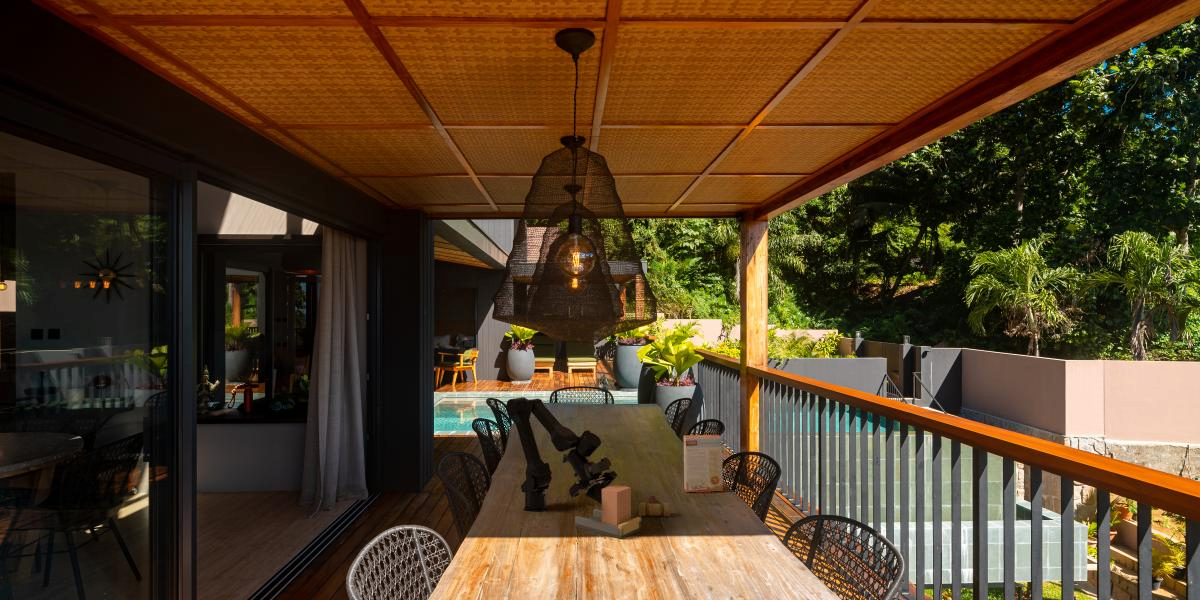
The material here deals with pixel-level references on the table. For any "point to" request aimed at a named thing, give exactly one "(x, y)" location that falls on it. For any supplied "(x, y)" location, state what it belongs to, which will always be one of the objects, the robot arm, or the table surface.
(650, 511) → the gavel
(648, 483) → the table surface
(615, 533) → the gray tray
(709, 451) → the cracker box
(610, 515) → the block
